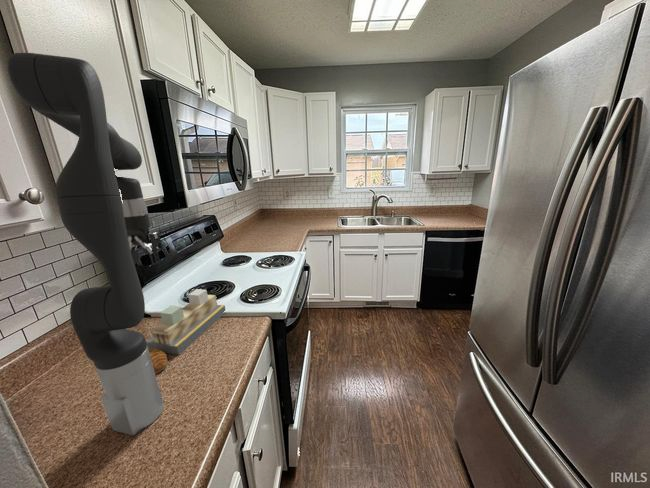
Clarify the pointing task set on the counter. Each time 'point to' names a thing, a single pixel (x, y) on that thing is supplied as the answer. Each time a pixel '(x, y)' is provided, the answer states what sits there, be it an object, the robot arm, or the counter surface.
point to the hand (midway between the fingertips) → (145, 263)
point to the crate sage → (172, 315)
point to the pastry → (158, 359)
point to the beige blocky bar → (183, 321)
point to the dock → (189, 333)
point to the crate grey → (198, 297)
